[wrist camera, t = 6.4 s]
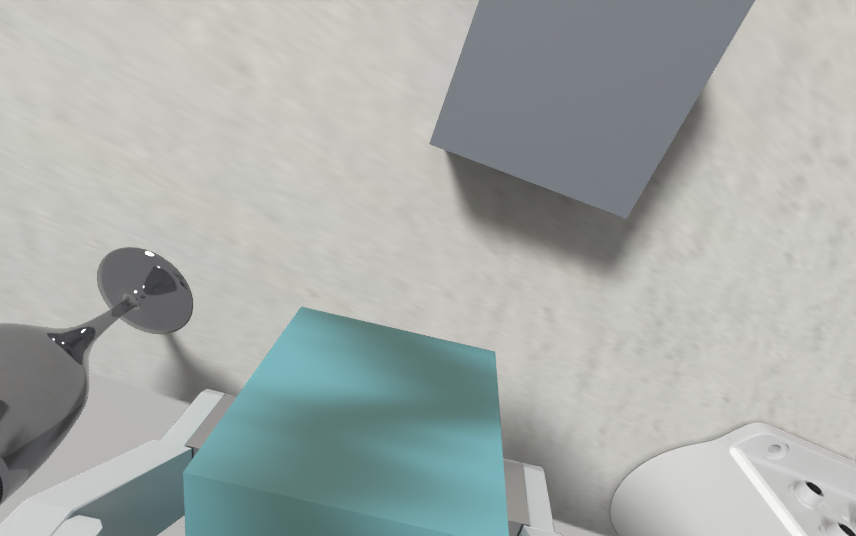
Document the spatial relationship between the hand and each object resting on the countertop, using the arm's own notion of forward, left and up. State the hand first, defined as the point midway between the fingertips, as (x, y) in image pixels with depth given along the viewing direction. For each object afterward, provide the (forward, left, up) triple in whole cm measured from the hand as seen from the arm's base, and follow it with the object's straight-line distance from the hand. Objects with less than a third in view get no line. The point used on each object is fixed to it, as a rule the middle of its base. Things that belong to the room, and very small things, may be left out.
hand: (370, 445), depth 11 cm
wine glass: (+19, +11, -19) cm, 29 cm away
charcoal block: (-5, -9, -19) cm, 22 cm away
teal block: (0, 0, -2) cm, 2 cm away
